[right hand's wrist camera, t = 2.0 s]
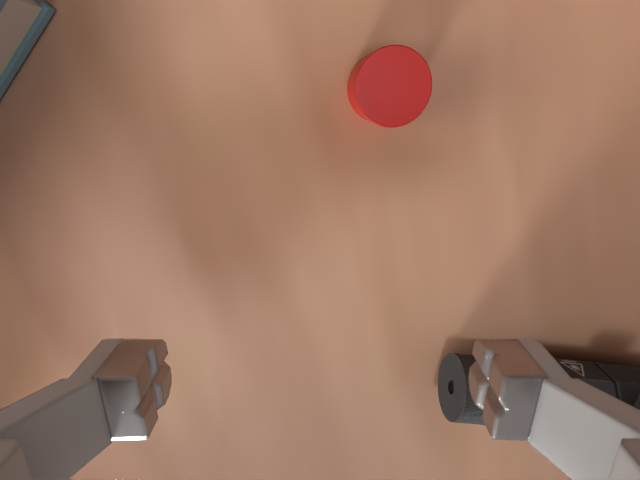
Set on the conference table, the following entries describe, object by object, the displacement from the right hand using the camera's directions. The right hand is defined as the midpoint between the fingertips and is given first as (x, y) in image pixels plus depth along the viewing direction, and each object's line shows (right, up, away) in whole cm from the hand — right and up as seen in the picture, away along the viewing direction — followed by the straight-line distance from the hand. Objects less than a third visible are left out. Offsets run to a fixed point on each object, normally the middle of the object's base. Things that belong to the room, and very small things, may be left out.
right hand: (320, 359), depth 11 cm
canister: (+4, +14, +18) cm, 23 cm away
